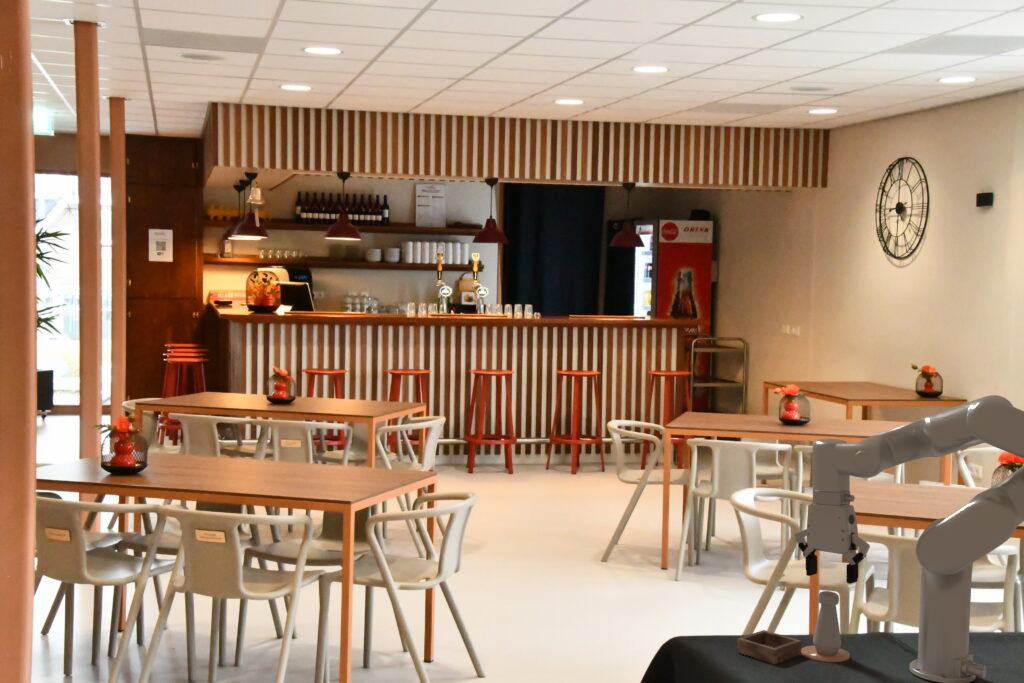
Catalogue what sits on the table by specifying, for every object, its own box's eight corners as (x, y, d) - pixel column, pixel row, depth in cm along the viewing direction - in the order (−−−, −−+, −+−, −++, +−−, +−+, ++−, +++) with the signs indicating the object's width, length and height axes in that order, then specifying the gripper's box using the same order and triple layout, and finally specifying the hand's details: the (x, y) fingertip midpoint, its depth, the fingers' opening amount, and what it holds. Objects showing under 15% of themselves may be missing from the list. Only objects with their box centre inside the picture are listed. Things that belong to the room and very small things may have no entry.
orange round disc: (859, 655, 241) (859, 653, 241) (833, 665, 234) (833, 663, 234) (818, 644, 248) (818, 642, 248) (791, 653, 242) (791, 651, 242)
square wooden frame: (801, 654, 241) (801, 640, 241) (774, 664, 235) (774, 649, 234) (763, 643, 248) (763, 630, 248) (736, 652, 242) (736, 638, 242)
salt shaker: (817, 646, 245) (819, 587, 245) (844, 651, 242) (846, 591, 242) (809, 654, 240) (811, 593, 240) (836, 659, 237) (838, 597, 237)
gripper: (877, 500, 236) (878, 582, 236) (805, 491, 249) (806, 569, 249) (858, 505, 231) (858, 589, 231) (785, 495, 244) (786, 574, 244)
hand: (831, 578), depth 240 cm, fingers open, 9 cm apart
